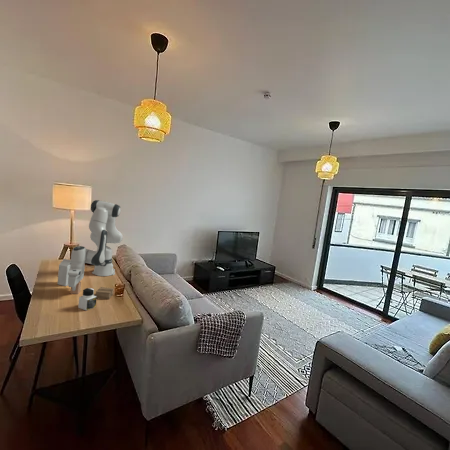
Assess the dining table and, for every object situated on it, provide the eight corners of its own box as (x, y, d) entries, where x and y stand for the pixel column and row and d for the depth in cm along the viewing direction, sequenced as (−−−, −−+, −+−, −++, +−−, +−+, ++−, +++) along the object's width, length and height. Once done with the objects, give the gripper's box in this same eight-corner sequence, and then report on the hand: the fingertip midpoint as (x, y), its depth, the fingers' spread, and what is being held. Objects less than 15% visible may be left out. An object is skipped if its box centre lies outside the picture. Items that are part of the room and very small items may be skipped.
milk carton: (65, 286, 190) (67, 261, 189) (57, 284, 192) (59, 259, 190) (73, 283, 197) (75, 259, 195) (65, 281, 198) (67, 257, 197)
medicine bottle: (86, 310, 158) (88, 292, 157) (77, 307, 160) (79, 289, 159) (95, 307, 165) (97, 288, 164) (87, 304, 167) (89, 286, 166)
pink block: (72, 290, 184) (73, 280, 183) (80, 291, 185) (81, 281, 184) (70, 293, 179) (71, 282, 178) (77, 293, 180) (78, 283, 179)
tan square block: (100, 293, 186) (100, 287, 186) (113, 294, 187) (113, 288, 187) (95, 298, 177) (96, 291, 177) (108, 299, 178) (109, 292, 178)
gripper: (77, 265, 190) (75, 283, 191) (66, 273, 170) (65, 293, 171) (86, 265, 191) (85, 283, 192) (77, 274, 171) (75, 294, 172)
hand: (75, 288), depth 181 cm, fingers closed on pink block, 5 cm apart
